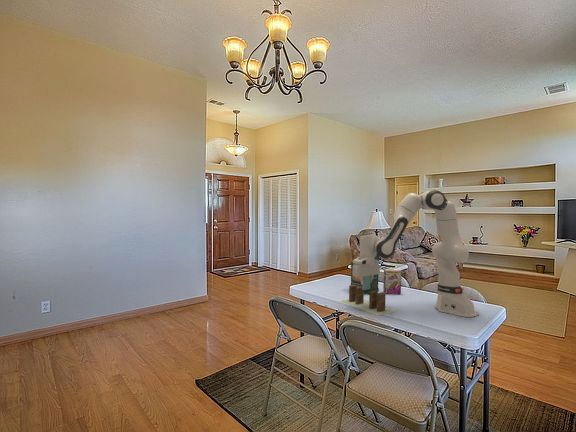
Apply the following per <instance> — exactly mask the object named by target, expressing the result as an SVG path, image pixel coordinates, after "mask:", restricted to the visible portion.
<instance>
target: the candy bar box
mask: <svg viewBox="0 0 576 432" xmlns="http://www.w3.org/2000/svg"><path fill="white" fill-rule="evenodd" d="M383 293H386V295H401V293H402V270H400V269H387V268H386V269H383Z"/></svg>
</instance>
